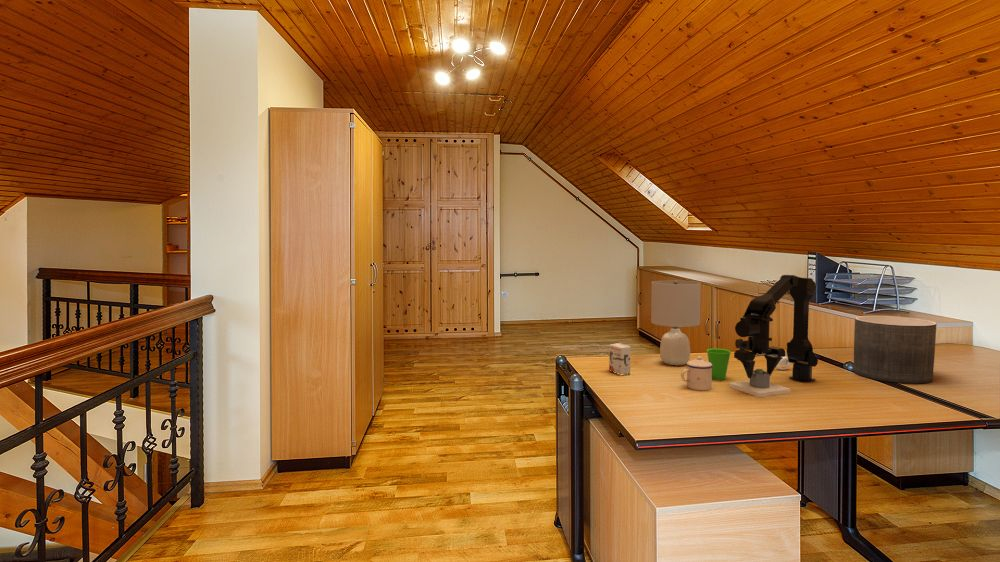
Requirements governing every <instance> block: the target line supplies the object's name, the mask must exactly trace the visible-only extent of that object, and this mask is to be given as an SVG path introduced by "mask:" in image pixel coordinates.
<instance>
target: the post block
mask: <svg viewBox="0 0 1000 562" xmlns="http://www.w3.org/2000/svg"><path fill="white" fill-rule="evenodd" d="M755 370H756V373H759V374H763V371H764V369H762V368H756V369H755ZM728 387H729V388H731V389H734V390H738V391H739V392H742V393H746V394H748V395H750V396H754V397H757V398H765V397H773V396H778V395H785V394H790V393H791V388H788V387H786V386H781V385H779V384H775V383H773V382H770V387H769V388H765V389H763V388H755V387H752V386H750V379H748V380H742V381H734V382H729V386H728Z"/></svg>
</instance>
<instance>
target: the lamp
mask: <svg viewBox="0 0 1000 562" xmlns="http://www.w3.org/2000/svg"><path fill="white" fill-rule="evenodd" d="M701 285H702V283H701V282H700V281H692V280H655V281H651V309H650V310H651V311H650V313H651V316H650V317H651V319H650V322H651V324H653V325H656V326H662V327H671V328H670V330H669V331H668V332H665V333H664V334H662V337H661V341H660V344H659V345H660V347H659V355H660V359H661V361H662V362H663V363H665V364H666V365H670V366H674V365H675V366H676V367H677V366H684V365H685V364H687V362H688V361H690V359H691V358H690V357H691V346H690V345H691V344H690V340H689V337H688V335H687V334H685V333H683V332H682V331H681V329H680V328H686V327H689V328H690V327H697V326H699V325H701V294H702V293H701V292H702V290H701V288H702V287H701Z"/></svg>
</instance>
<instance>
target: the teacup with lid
mask: <svg viewBox="0 0 1000 562" xmlns="http://www.w3.org/2000/svg"><path fill="white" fill-rule="evenodd" d="M712 367H713V366H712V364H711V363H710V362H709V361H707V360H706V359H703V356H700V355H698V356H696V358H694V359H692V360H689V361H688V362H687V363H686V368H684V369H683V370H682V371H681V372H680V378H681V380H682V382H685V383H686V388H689V389H690V390H695V391H709V390H711V389H712V386H713V385H712V384H713V383H712V381H713V379H712ZM685 374H686V378H685Z"/></svg>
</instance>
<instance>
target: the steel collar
mask: <svg viewBox="0 0 1000 562" xmlns="http://www.w3.org/2000/svg"><path fill="white" fill-rule="evenodd" d="M770 379H771V377H770V372H767V370H763V374H759V373H756V369H753V373H752V377H751V378H749V380H750V386H752V387H755V388H763V389H765V388H769V387H770V383H771V381H770Z"/></svg>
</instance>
